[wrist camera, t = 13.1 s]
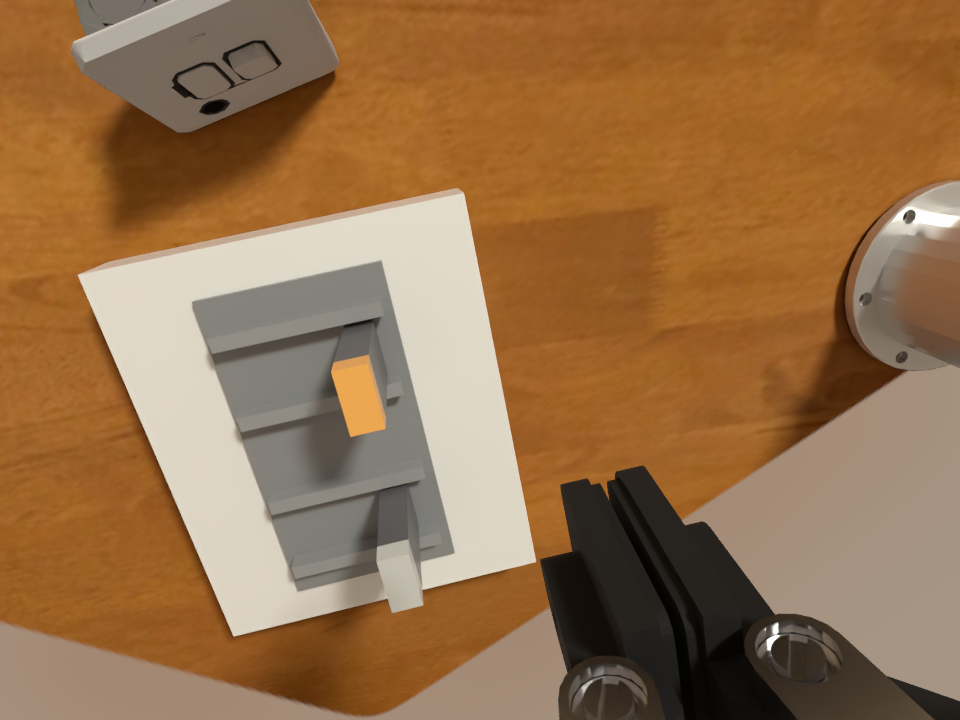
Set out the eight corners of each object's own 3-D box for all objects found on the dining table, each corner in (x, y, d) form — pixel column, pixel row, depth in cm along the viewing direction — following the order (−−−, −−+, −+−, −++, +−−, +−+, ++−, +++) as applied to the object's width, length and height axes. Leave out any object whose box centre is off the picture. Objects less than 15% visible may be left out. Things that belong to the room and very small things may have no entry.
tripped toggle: (373, 318, 34) (367, 363, 27) (387, 372, 35) (385, 428, 28) (344, 325, 33) (330, 372, 27) (359, 379, 35) (350, 437, 28)
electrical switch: (183, 137, 33) (96, 113, 24) (132, 38, 32) (20, -26, 23) (344, 68, 33) (316, 19, 24) (300, -34, 32) (254, -126, 23)
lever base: (457, 187, 36) (483, 208, 25) (525, 529, 44) (566, 652, 34) (108, 261, 35) (-18, 315, 24) (246, 597, 43) (197, 747, 33)
